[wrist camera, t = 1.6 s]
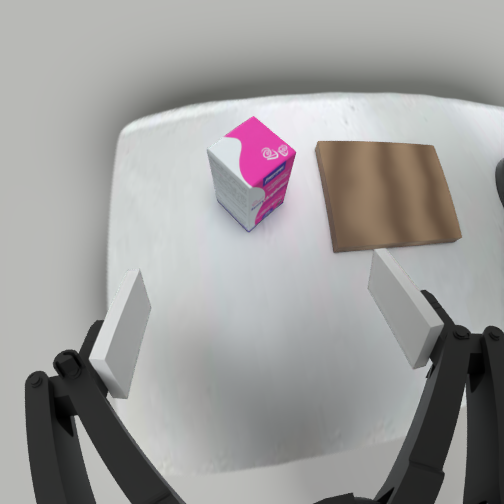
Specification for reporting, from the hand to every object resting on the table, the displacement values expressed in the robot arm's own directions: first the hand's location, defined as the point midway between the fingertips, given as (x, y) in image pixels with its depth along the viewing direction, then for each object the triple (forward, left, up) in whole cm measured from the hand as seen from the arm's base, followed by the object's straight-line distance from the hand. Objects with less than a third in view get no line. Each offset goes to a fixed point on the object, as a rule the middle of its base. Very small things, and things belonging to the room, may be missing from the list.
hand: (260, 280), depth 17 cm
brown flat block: (-18, -12, -17) cm, 28 cm away
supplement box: (0, -12, -17) cm, 21 cm away
